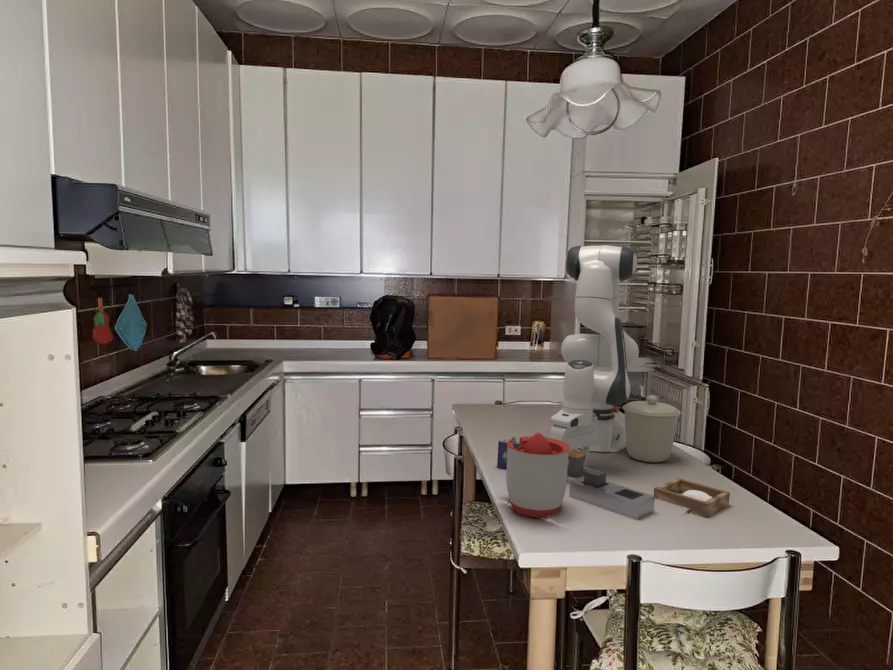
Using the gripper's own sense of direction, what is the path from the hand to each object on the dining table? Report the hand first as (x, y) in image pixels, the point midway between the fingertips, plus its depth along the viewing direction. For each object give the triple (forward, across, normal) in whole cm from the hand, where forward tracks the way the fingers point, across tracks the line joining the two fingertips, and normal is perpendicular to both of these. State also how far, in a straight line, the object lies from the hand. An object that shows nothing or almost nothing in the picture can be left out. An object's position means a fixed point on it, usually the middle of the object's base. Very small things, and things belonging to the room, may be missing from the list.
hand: (574, 462), depth 183 cm
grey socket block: (+5, +12, +20) cm, 23 cm away
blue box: (+5, +10, -15) cm, 19 cm away
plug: (+4, 0, 0) cm, 4 cm away
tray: (+4, 0, 0) cm, 5 cm away
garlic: (+5, -8, +34) cm, 35 cm away
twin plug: (+4, +12, +15) cm, 19 cm away
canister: (+4, -36, +4) cm, 37 cm away
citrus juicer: (+5, +29, +8) cm, 30 cm away
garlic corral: (+5, -8, +32) cm, 33 cm away
